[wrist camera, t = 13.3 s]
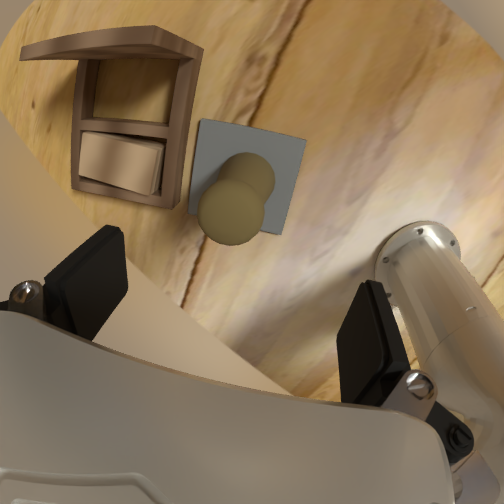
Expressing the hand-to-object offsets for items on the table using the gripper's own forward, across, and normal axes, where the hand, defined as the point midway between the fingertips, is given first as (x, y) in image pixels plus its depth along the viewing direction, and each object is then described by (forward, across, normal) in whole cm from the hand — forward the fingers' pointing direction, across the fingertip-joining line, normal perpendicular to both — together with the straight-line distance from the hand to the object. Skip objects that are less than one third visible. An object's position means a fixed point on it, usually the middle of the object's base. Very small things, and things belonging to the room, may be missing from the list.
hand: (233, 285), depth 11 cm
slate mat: (+22, +3, +2) cm, 22 cm away
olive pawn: (+21, +2, +2) cm, 22 cm away
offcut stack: (+22, +17, +2) cm, 28 cm away
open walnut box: (+21, +17, -3) cm, 27 cm away
